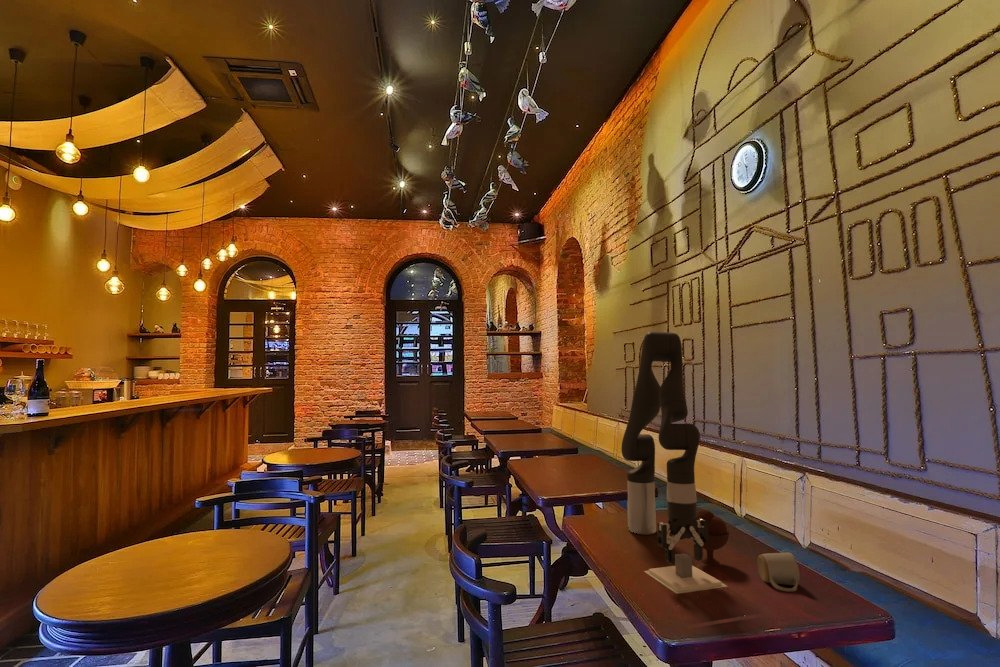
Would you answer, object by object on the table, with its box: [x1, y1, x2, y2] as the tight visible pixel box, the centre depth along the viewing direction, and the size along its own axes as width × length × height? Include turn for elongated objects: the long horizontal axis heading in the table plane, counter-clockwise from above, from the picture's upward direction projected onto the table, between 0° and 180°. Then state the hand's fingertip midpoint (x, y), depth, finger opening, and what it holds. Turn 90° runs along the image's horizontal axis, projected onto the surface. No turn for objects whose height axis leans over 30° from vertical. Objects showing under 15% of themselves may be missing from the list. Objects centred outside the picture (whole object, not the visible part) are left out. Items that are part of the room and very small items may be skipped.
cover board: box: [648, 553, 723, 591], centre depth 134 cm, size 13×13×6 cm
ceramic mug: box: [756, 552, 800, 593], centre depth 131 cm, size 11×8×8 cm
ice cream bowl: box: [695, 508, 730, 566], centre depth 146 cm, size 11×11×15 cm
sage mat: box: [643, 569, 728, 595], centre depth 134 cm, size 15×15×1 cm
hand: (684, 561), depth 134 cm, fingers open, 8 cm apart
